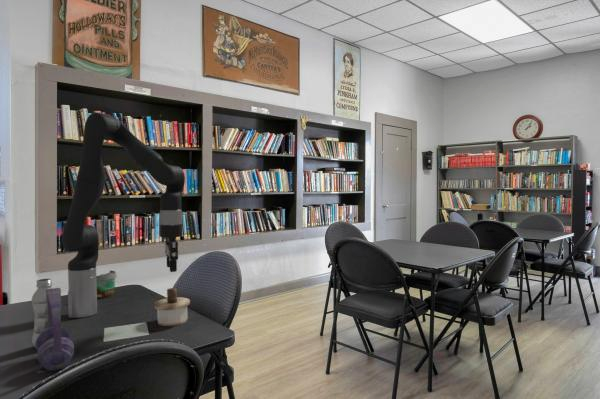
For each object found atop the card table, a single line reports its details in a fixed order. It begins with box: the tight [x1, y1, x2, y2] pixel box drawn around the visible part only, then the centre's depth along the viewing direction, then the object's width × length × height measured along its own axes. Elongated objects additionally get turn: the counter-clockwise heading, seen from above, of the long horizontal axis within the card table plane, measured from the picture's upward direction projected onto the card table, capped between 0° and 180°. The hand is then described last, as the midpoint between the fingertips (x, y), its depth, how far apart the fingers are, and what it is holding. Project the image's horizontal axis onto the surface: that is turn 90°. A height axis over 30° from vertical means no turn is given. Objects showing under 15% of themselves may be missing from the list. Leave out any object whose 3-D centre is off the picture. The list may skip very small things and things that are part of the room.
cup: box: [156, 306, 189, 327], centre depth 140 cm, size 10×10×6 cm
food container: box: [96, 270, 118, 299], centre depth 174 cm, size 12×6×10 cm, turn 168°
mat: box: [103, 322, 150, 343], centre depth 130 cm, size 13×13×1 cm
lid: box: [153, 287, 191, 310], centre depth 140 cm, size 12×12×6 cm
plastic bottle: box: [31, 278, 53, 349], centre depth 119 cm, size 6×7×20 cm
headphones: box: [35, 287, 75, 371], centre depth 108 cm, size 18×8×20 cm, turn 36°
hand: (171, 269), depth 139 cm, fingers open, 8 cm apart
